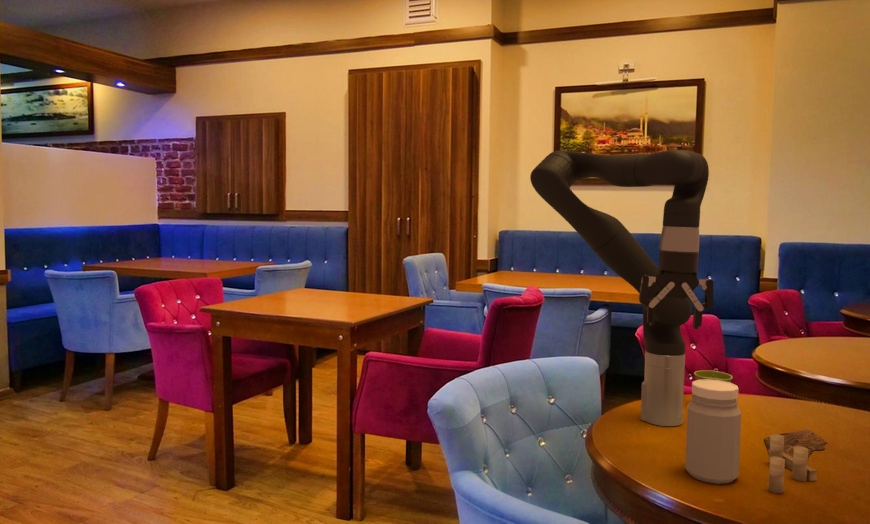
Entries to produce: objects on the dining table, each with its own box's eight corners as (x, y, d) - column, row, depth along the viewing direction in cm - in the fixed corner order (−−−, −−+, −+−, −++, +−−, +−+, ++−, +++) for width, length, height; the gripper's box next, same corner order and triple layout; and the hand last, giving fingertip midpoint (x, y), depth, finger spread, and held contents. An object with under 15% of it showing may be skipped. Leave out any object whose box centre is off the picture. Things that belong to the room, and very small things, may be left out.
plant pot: (731, 404, 172) (732, 372, 171) (731, 413, 163) (732, 380, 163) (693, 399, 176) (695, 368, 175) (692, 409, 167) (693, 376, 167)
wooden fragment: (800, 467, 129) (801, 462, 129) (745, 452, 137) (745, 447, 137) (840, 439, 146) (841, 434, 146) (789, 427, 154) (789, 422, 154)
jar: (712, 489, 118) (716, 393, 116) (673, 469, 127) (676, 380, 125) (750, 480, 122) (754, 388, 120) (710, 462, 131) (713, 376, 129)
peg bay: (774, 493, 116) (775, 461, 116) (717, 456, 134) (718, 428, 134) (833, 490, 117) (835, 459, 117) (769, 453, 136) (770, 426, 135)
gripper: (644, 248, 129) (639, 327, 130) (720, 252, 126) (714, 333, 127) (641, 246, 136) (636, 321, 137) (712, 250, 133) (706, 326, 134)
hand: (673, 327), depth 132 cm, fingers open, 8 cm apart
